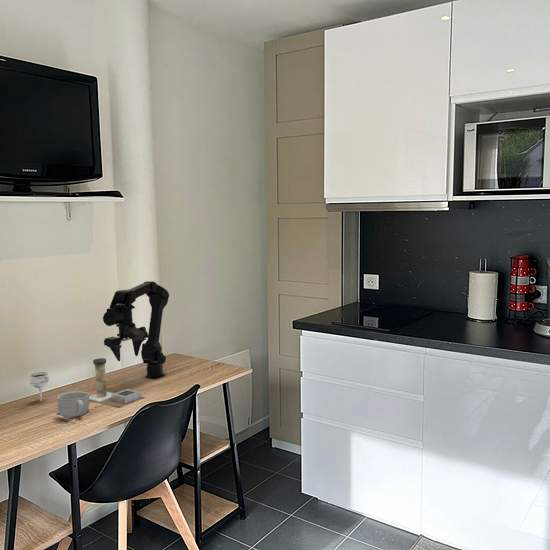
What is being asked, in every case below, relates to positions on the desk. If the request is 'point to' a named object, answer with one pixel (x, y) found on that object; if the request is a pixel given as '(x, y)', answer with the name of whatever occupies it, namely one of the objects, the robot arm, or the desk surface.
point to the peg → (100, 376)
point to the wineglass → (39, 381)
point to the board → (114, 404)
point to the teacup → (73, 404)
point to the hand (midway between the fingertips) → (127, 358)
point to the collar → (126, 396)
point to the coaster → (100, 399)
